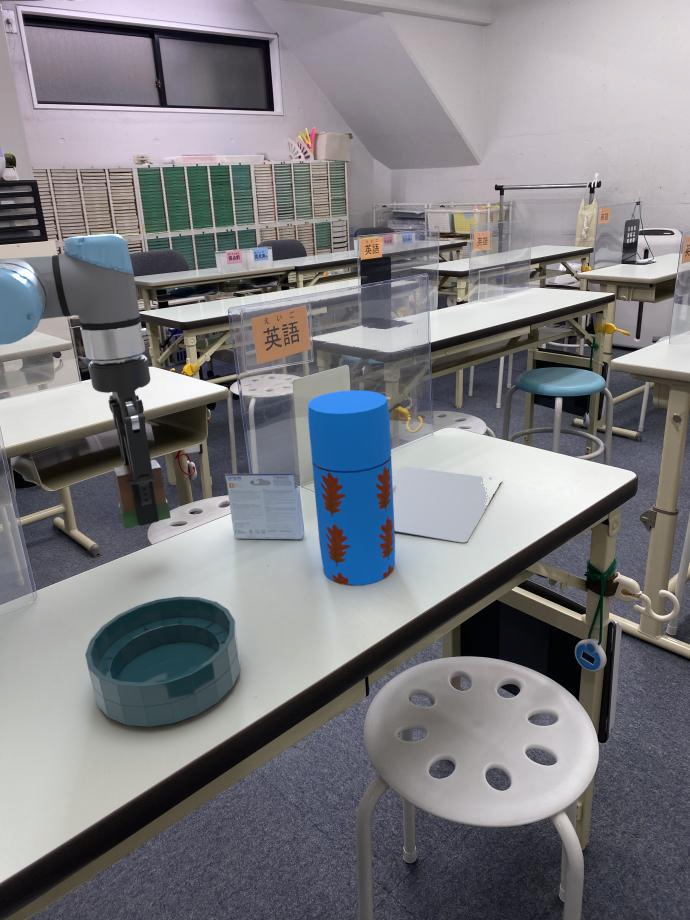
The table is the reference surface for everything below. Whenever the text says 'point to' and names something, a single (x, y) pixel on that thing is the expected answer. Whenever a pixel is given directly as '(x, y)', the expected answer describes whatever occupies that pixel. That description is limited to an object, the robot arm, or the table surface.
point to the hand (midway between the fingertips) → (145, 516)
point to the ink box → (265, 506)
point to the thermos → (353, 485)
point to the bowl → (164, 660)
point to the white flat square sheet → (437, 503)
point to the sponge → (127, 497)
